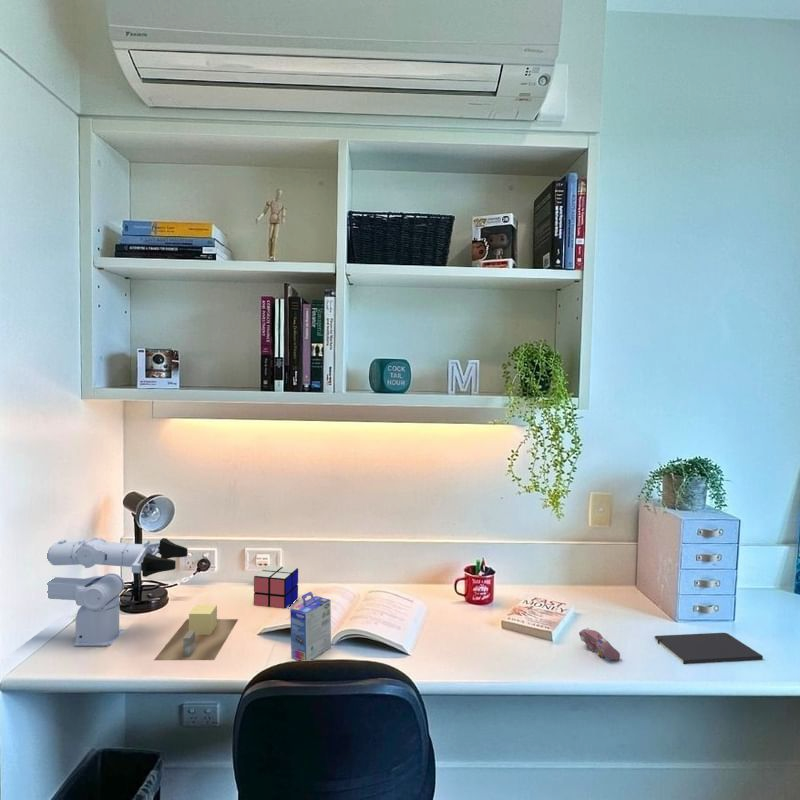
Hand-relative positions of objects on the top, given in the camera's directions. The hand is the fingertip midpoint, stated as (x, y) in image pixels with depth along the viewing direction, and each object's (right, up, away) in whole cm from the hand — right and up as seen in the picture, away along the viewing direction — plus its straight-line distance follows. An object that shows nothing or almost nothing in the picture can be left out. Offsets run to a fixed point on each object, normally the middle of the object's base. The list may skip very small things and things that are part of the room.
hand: (181, 558), depth 140 cm
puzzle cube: (+19, -21, +24) cm, 37 cm away
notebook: (+135, -24, 0) cm, 137 cm away
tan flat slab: (+5, -21, -1) cm, 22 cm away
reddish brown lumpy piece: (+106, -23, -3) cm, 109 cm away
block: (+4, -20, +4) cm, 21 cm away
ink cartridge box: (+34, -22, -4) cm, 41 cm away
